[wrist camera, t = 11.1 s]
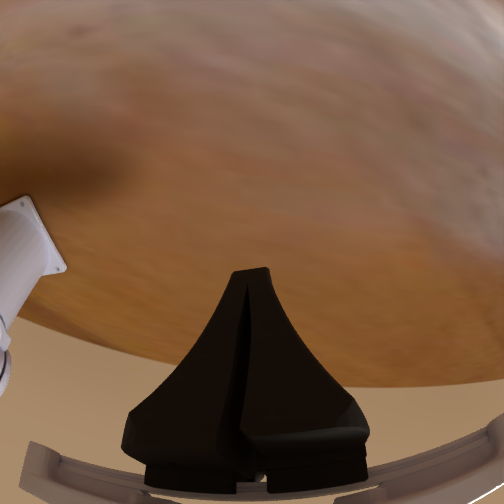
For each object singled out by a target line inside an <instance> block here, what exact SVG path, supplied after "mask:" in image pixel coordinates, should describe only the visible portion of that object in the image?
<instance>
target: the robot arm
mask: <svg viewBox="0 0 504 504" xmlns="http://www.w3.org/2000/svg"><path fill="white" fill-rule="evenodd" d="M23 203H24V204H23ZM66 269H67V266H66V264H65V263H64V261H63V259H62V257H61V256H60V254H59V252H58V250H57V249H56V247H55V245H54V243H53V242H52V240H51V238H50V236H49V234H48V232H47V230H46V229H45V227H44V225H43V223H42V221H41V219H40V217H39V215H38V213H37V211H36V209H35V207H34V205H33V202H32V200H31V198H30V197H29V196H27V195H26V196H23V197H21V198H19V199H17V200H15V201H12V202H10V203H8V204H6V205H4V206H2V207H0V396H1V395H2V394H3V392H4V390H5V388H6V386H7V384H8V381H9V378H10V373H11V356H10V353H9V352H8V350H7V348H8V346H9V343H10V342H11V338H10V337H9V336H8V334H7V331H8V329H9V327H10V325H11V324H12V322H13V320H14V319H15V317H16V315H17V313H18V312H19V310H20V308H21V307H22V305H23V303H24V302H25V300H26V299H27V297H28V295H29V294H30V292H31V291H32V289H33V288H34V286H35V284H36V283H37V281H38V280H39V278H40V277H41V276H44V275H49V274H55V273H61V272H65V270H66ZM369 435H370V429H369V426H368V423H367V420H366V418H365V416H364V414H363V412H362V411H361V409H360V407H359V406H358V404H357V402H356V401H355V399H354V398H353V397H352V396H351V395H350V394H349V393H348V392H347V391H346V390H345V389H344V388H343V387H342V386H341V385H340V384H339V383H338V382H337V381H336V380H335V379H334V378H333V377H332V376H331V375H330V374H329V373H328V372H327V371H326V370H325V369H324V367H323V366H322V365H321V364H320V363H319V361H318V360H317V359H316V358H315V357H314V355H313V354H312V353H311V352H310V350H309V349H308V348H307V346H306V345H305V344H304V342H303V341H302V339H301V338H300V337H299V335H298V334H297V332H296V331H295V329H294V327H293V326H292V324H291V322H290V321H289V319H288V317H287V316H286V314H285V312H284V310H283V308H282V306H281V304H280V302H279V300H278V298H277V295H276V293H275V291H274V288H273V285H272V280H271V276H270V271H269V269H268V268H267V267H261V268H255V269H248V270H241V271H234V272H233V273H232V275H231V277H230V280H229V282H228V285H227V287H226V289H225V291H224V293H223V296H222V298H221V300H220V302H219V304H218V306H217V308H216V310H215V312H214V313H213V315H212V317H211V319H210V320H209V322H208V324H207V326H206V327H205V329H204V331H203V332H202V334H201V335H200V337H199V338H198V340H197V341H196V343H195V344H194V346H193V347H192V349H191V350H190V351H189V353H188V354H187V355H186V356H185V358H184V359H183V360H182V361H181V363H180V364H179V365H178V366H177V368H176V369H175V370H174V371H173V372H172V373H171V374H170V375H169V377H168V378H167V379H166V380H165V381H164V382H163V383H162V384H161V385H160V386H159V387H158V388H157V389H156V390H155V391H154V392H153V393H152V394H150V396H148V397H147V398H146V399H145V400H143V401H142V402H141V403H140V404H139V405H138V406H137V407H135V408H134V409H133V410H131V411H130V412H129V414H128V417H127V420H126V424H125V428H124V434H123V438H122V444H121V449H122V450H123V451H124V453H126V454H127V455H128V456H130V457H132V458H134V459H136V460H137V461H139V462H141V463H143V464H145V465H146V470H145V475H141V474H135V473H129V472H124V471H119V470H115V469H110V468H106V467H101V466H98V465H94V464H90V463H86V462H82V461H79V460H75V459H72V458H69V457H66V456H62V455H60V454H59V453H57V452H56V451H54V450H52V449H50V448H48V447H46V446H43V445H41V444H38V443H35V442H33V441H30V442H29V445H28V449H27V453H26V457H25V460H24V465H23V469H22V473H21V477H20V482H19V487H20V488H21V489H23V490H25V491H27V492H29V493H30V494H32V495H34V496H36V497H38V498H39V499H41V500H43V501H45V502H47V503H49V504H180V503H177V502H174V501H171V500H166V499H161V498H156V497H152V496H151V495H150V494H149V493H151V494H157V495H164V496H171V497H179V498H187V499H198V500H212V501H213V500H214V501H275V500H276V501H278V500H292V499H302V498H310V497H319V496H326V495H333V494H339V493H344V492H350V491H355V490H360V489H364V488H369V487H373V486H377V485H379V486H378V487H377V488H374V489H370V490H366V491H362V492H358V493H354V494H350V495H346V496H342V497H337V498H336V499H335V500H334V503H333V504H471V503H473V502H475V501H477V500H479V499H480V498H482V497H484V496H485V495H487V494H489V493H491V492H492V491H494V490H495V489H497V488H499V487H500V486H502V485H504V413H503V414H501V415H500V416H498V417H497V418H495V419H494V420H492V421H491V422H490V423H489V424H488V425H487V426H486V427H484V428H482V429H480V430H478V431H476V432H474V433H471V434H469V435H467V436H465V437H462V438H460V439H458V440H455V441H453V442H450V443H448V444H445V445H442V446H440V447H437V448H434V449H432V450H429V451H426V452H423V453H420V454H417V455H414V456H411V457H407V458H404V459H401V460H397V461H394V462H390V463H386V464H382V465H378V466H374V467H370V468H367V463H366V456H367V453H366V447H365V443H366V441H367V439H368V437H369ZM264 474H265V475H266V476H267V482H260V481H261V480H262V479H263V478H264Z"/></svg>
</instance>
